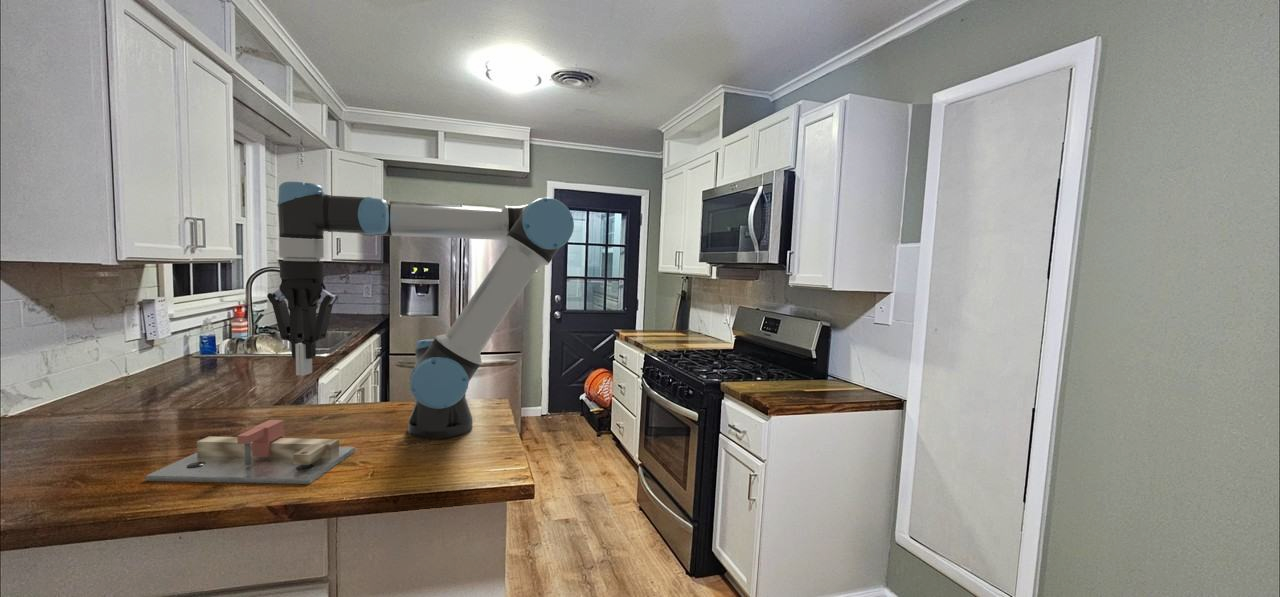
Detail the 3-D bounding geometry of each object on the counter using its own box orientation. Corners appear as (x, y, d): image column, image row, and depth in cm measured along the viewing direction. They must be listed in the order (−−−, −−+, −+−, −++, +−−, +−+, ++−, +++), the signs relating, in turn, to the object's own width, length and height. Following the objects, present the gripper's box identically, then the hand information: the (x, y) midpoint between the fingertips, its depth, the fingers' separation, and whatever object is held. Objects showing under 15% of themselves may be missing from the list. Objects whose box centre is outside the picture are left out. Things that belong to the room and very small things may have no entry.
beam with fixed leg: (339, 453, 107) (338, 439, 107) (314, 469, 99) (314, 455, 99) (209, 450, 106) (208, 436, 106) (173, 466, 98) (172, 451, 98)
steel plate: (355, 451, 111) (354, 446, 111) (309, 483, 95) (309, 478, 95) (215, 448, 110) (215, 443, 110) (146, 480, 94) (145, 474, 94)
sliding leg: (285, 447, 108) (284, 419, 108) (251, 466, 98) (250, 436, 98) (271, 447, 108) (270, 419, 108) (235, 466, 98) (234, 435, 98)
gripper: (345, 261, 106) (346, 370, 108) (281, 258, 106) (284, 369, 108) (324, 261, 99) (325, 379, 101) (255, 258, 98) (258, 377, 100)
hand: (304, 373), depth 104 cm, fingers closed
